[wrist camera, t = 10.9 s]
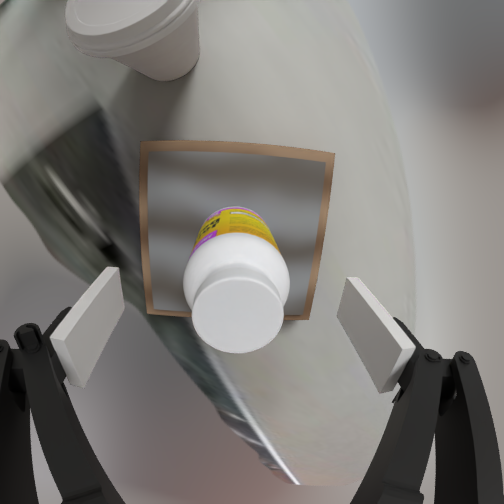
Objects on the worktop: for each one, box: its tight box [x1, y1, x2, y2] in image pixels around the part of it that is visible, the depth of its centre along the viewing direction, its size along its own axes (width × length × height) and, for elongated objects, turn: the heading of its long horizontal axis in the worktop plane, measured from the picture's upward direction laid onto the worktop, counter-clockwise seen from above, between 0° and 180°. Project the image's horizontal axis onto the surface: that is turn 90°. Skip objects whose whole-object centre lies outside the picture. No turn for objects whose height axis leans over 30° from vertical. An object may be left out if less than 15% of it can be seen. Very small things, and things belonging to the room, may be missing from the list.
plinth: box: [139, 140, 335, 320], centre depth 27 cm, size 18×18×4 cm
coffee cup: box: [65, 0, 200, 81], centre depth 15 cm, size 10×10×15 cm
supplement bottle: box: [183, 206, 290, 353], centre depth 19 cm, size 7×7×13 cm
